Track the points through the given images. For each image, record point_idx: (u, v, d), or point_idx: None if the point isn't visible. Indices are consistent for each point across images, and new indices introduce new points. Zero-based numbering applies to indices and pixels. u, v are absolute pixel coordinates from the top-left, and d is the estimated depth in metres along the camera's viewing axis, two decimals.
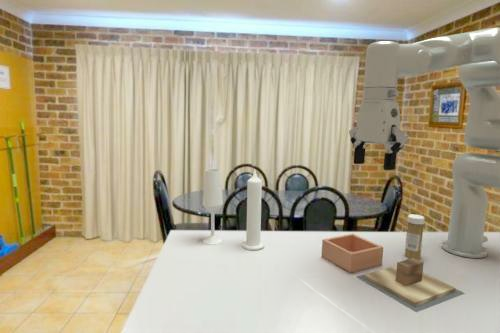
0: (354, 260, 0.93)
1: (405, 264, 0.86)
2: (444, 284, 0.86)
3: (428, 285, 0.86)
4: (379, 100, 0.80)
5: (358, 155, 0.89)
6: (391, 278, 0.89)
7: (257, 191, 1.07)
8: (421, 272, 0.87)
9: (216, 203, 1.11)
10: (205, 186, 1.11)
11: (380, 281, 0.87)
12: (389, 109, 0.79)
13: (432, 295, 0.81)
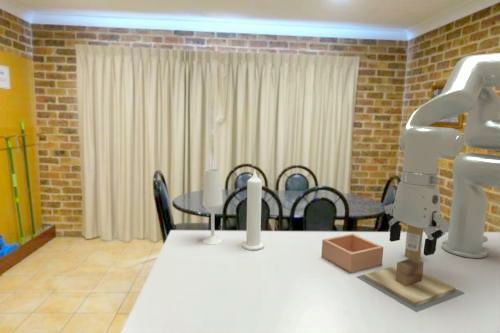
0: (354, 260, 0.93)
1: (405, 264, 0.86)
2: (444, 284, 0.86)
3: (428, 285, 0.86)
4: (420, 186, 0.80)
5: (394, 233, 0.89)
6: (391, 278, 0.89)
7: (257, 191, 1.07)
8: (421, 272, 0.87)
9: (216, 203, 1.11)
10: (205, 186, 1.11)
11: (380, 281, 0.87)
12: (430, 196, 0.79)
13: (432, 295, 0.81)
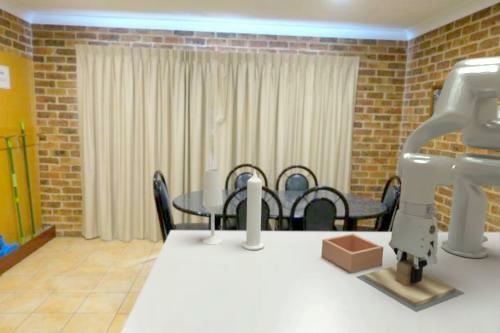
0: (354, 260, 0.93)
1: (405, 264, 0.86)
2: (444, 284, 0.86)
3: (428, 285, 0.86)
4: (417, 217, 0.81)
5: None
6: (391, 278, 0.89)
7: (257, 191, 1.07)
8: None
9: (216, 203, 1.11)
10: (205, 186, 1.11)
11: (380, 281, 0.87)
12: (428, 226, 0.81)
13: (432, 295, 0.81)
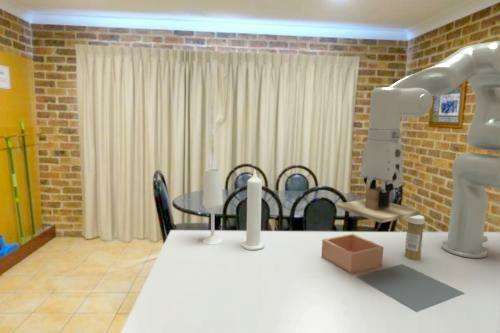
0: (354, 260, 0.93)
1: (373, 190, 0.91)
2: (410, 209, 0.92)
3: (395, 209, 0.91)
4: (384, 141, 0.87)
5: None
6: (361, 205, 0.94)
7: (257, 191, 1.07)
8: (389, 198, 0.93)
9: (216, 203, 1.11)
10: (205, 186, 1.11)
11: (350, 207, 0.92)
12: (393, 150, 0.86)
13: (398, 215, 0.86)
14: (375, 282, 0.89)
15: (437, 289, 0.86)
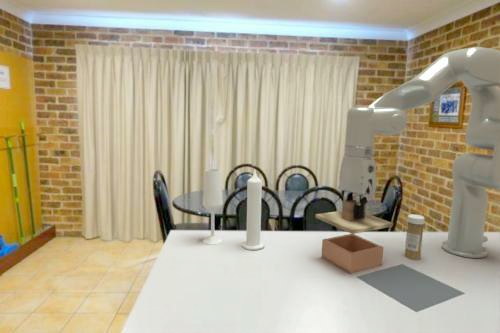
0: (354, 260, 0.93)
1: (348, 202, 0.97)
2: (384, 220, 0.98)
3: (369, 221, 0.97)
4: (358, 158, 0.93)
5: None
6: (338, 216, 1.00)
7: (257, 191, 1.07)
8: (364, 210, 0.99)
9: (216, 203, 1.11)
10: (205, 186, 1.11)
11: (327, 218, 0.99)
12: (366, 166, 0.92)
13: (370, 226, 0.93)
14: (375, 282, 0.89)
15: (437, 289, 0.86)
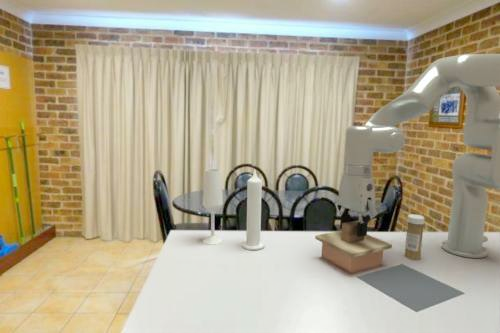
0: (354, 260, 0.93)
1: (348, 224, 0.98)
2: (383, 242, 0.99)
3: (368, 243, 0.98)
4: (357, 176, 0.94)
5: (344, 221, 1.02)
6: (338, 238, 1.01)
7: (257, 191, 1.07)
8: None
9: (216, 203, 1.11)
10: (205, 186, 1.11)
11: (327, 240, 1.00)
12: (365, 184, 0.93)
13: (369, 249, 0.94)
14: (375, 282, 0.89)
15: (437, 289, 0.86)
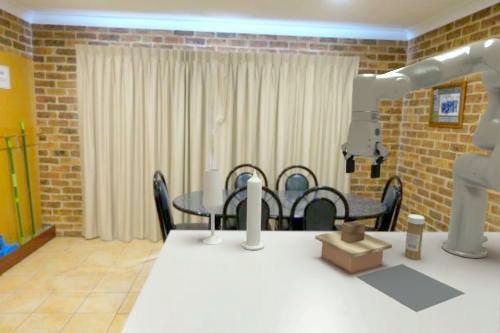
0: (354, 260, 0.93)
1: (348, 224, 0.98)
2: (383, 242, 0.99)
3: (368, 243, 0.98)
4: (365, 122, 0.98)
5: (349, 166, 1.07)
6: (338, 238, 1.01)
7: (257, 191, 1.07)
8: (363, 232, 1.00)
9: (216, 203, 1.11)
10: (205, 186, 1.11)
11: (327, 240, 1.00)
12: (373, 129, 0.97)
13: (369, 249, 0.94)
14: (375, 282, 0.89)
15: (437, 289, 0.86)
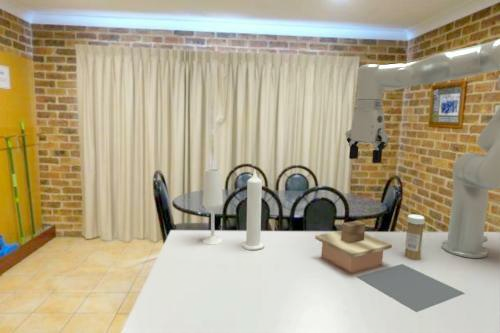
0: (354, 260, 0.93)
1: (348, 224, 0.98)
2: (383, 242, 0.99)
3: (368, 243, 0.98)
4: (368, 109, 1.04)
5: (353, 152, 1.14)
6: (338, 238, 1.01)
7: (257, 191, 1.07)
8: (363, 232, 1.00)
9: (216, 203, 1.11)
10: (205, 186, 1.11)
11: (327, 240, 1.00)
12: (376, 116, 1.04)
13: (369, 249, 0.94)
14: (375, 282, 0.89)
15: (437, 289, 0.86)
